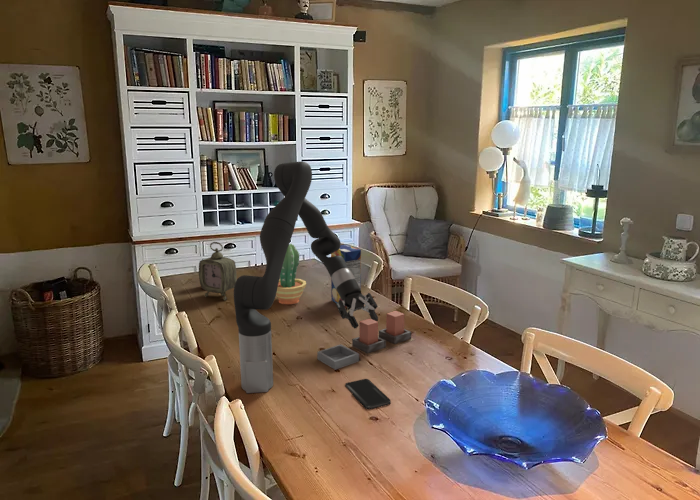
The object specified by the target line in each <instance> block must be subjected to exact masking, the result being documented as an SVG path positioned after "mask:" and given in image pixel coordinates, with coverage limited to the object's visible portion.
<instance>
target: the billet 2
mask: <svg viewBox="0 0 700 500" xmlns="http://www.w3.org/2000/svg"><path fill="white" fill-rule="evenodd" d="M385 318H386V321H385V322H386V324H385V326H386V328H385V329H386V333H388V334H391V335H393V336H397V335H400V334H403V333H404V329H405V313H403V312H400V311H397V310H394V311H391V312H388V313H386V317H385Z"/></svg>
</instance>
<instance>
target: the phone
mask: <svg viewBox="0 0 700 500" xmlns="http://www.w3.org/2000/svg"><path fill="white" fill-rule="evenodd" d="M344 386H345V388H347V389H348V391H349V392H350V393H351V395H352V396H353V397H354V399H356V400H357V401H358V403H359V404H360V405H361V404H362V405H363V406H362V405H361V406H362V407H363V408H364V409H365V410H372V409H377V407H378V408H381V406H382V407H384V406H385V405H386V406H389V405H391V399H390V398H389V397H388V396H387V395H386V394H385V393H384V392H383V391H382V390H381V389H379V388H378V386H376V385H375V384H374V383H373V382H372V381H371V380H370V379H369V378H363V379H358V380H353V381H349V382H346V383H344ZM388 404H389V405H388Z"/></svg>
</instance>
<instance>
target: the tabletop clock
mask: <svg viewBox="0 0 700 500" xmlns="http://www.w3.org/2000/svg"><path fill="white" fill-rule="evenodd" d="M214 244H215V245H216V244H217V245H219V246H220V247H221V249H218V248H217V247H216V248H213V247H212V245H214ZM209 247H210V249H211V251H214V252H212V254H211V256H210V257H208V258H203V259H201V260H199V263H198V277H199V278H198V279H199V284H200V288H201V287H202V288H201V289H202V290H204V291H206V293H205V292H204V297H205V298H207V297H209V293H215V294H220V295H221V296H222V297H223V301H227V300H228V297H227V294H226V293H227V292H228V291H229V290H232V289H234V286H235V282H236V280H237V279H238V278H237V265H236V262H235V260H233V259H232V258H229V257H225V256H224V255H223V253H222V251H223V249H224V246H223V245H222V244H221V243H220V242H218V241H213V242H210V245H209Z"/></svg>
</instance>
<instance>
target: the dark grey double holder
mask: <svg viewBox="0 0 700 500" xmlns="http://www.w3.org/2000/svg"><path fill="white" fill-rule="evenodd" d="M415 340H416V339H415V338H413V337H412V331H410V330H407V329H406V328H404V333H403V334H400V335H397V336H393V335H391V334H388V333H386V328H383V329H380V330H379V329H378V342H376V343H373V344H370V345H366V344H364V343H362V342H360V341H359V336H358V337H355V338H352V340H351V341H352V342H351V343H350V344H348V346H349V347H352V348H353V349H355V350H357V351H359V352H361V353H363V354H365V355H367V356H368V357H370V356H372V355H375V354H379V353H381V352H384V351H387V350H391V349H393V348H395V347H398V346H401V345H404V344H407V343H411V342H412V341H413V342H414V341H415Z"/></svg>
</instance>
